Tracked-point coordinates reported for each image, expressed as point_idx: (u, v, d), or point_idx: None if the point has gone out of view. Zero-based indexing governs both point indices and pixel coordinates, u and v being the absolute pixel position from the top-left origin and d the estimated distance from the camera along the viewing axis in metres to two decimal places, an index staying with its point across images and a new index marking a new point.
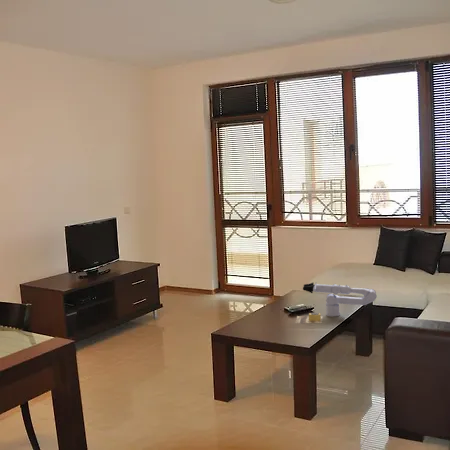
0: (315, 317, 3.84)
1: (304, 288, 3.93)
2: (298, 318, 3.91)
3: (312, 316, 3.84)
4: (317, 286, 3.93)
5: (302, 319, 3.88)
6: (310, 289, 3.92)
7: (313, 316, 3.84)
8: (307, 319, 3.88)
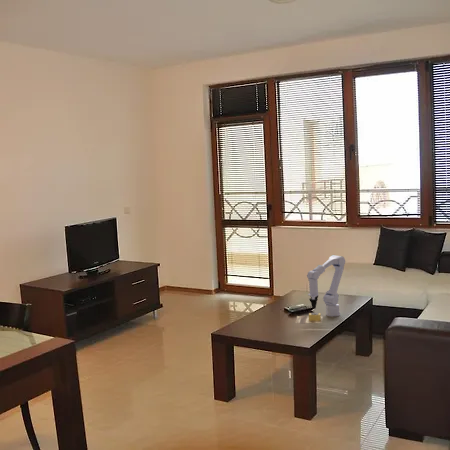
0: (315, 317, 3.84)
1: (313, 307, 3.81)
2: (298, 318, 3.91)
3: (312, 316, 3.84)
4: (311, 293, 3.82)
5: (302, 319, 3.88)
6: (314, 301, 3.80)
7: (313, 316, 3.84)
8: (307, 319, 3.88)
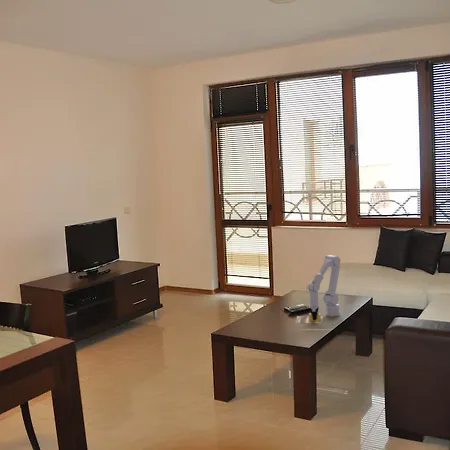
0: None
1: (314, 318, 3.83)
2: (298, 318, 3.91)
3: None
4: (311, 305, 3.83)
5: (302, 319, 3.88)
6: (314, 312, 3.83)
7: None
8: (307, 319, 3.88)
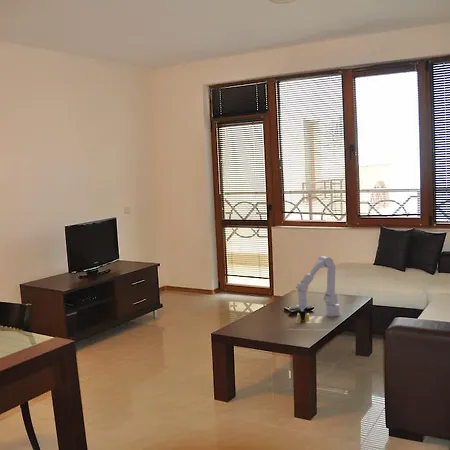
0: None
1: (302, 318, 3.84)
2: None
3: None
4: (300, 305, 3.85)
5: None
6: (303, 312, 3.83)
7: None
8: None
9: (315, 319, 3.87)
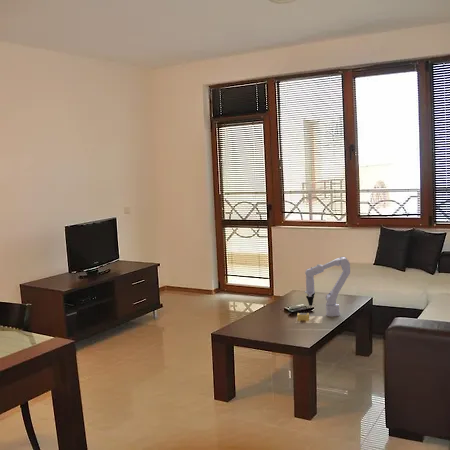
0: (303, 317, 3.86)
1: (310, 304, 3.92)
2: None
3: (300, 316, 3.86)
4: (307, 291, 3.93)
5: None
6: (310, 298, 3.91)
7: (301, 316, 3.86)
8: None
9: (315, 319, 3.87)
